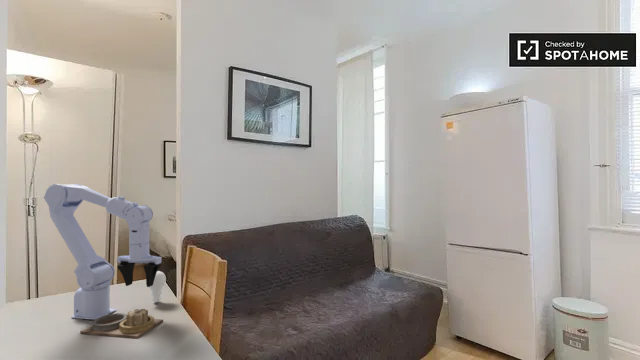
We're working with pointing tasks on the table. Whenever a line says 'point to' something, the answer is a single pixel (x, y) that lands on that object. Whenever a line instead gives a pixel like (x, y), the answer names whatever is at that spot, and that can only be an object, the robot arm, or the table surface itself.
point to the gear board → (116, 331)
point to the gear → (137, 317)
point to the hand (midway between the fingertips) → (139, 285)
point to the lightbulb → (158, 286)
